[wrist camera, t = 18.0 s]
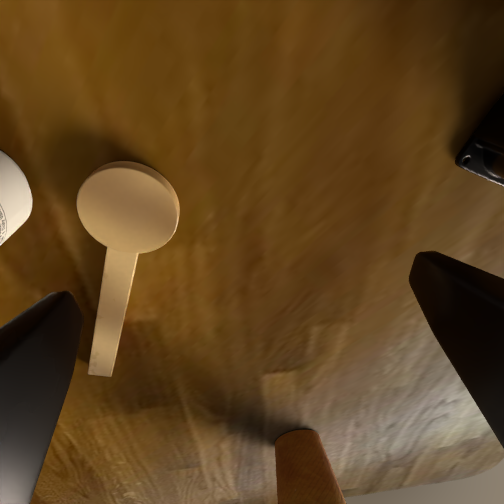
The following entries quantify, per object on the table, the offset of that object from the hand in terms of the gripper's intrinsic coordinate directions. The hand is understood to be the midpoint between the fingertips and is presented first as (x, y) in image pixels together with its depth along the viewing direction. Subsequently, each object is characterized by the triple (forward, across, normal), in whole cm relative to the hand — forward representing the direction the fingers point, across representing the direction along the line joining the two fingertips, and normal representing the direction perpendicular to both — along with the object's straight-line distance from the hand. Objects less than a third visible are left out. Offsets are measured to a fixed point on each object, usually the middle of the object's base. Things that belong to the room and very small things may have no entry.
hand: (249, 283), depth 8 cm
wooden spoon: (+13, +9, +9) cm, 18 cm away
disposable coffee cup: (+13, -5, +41) cm, 43 cm away
